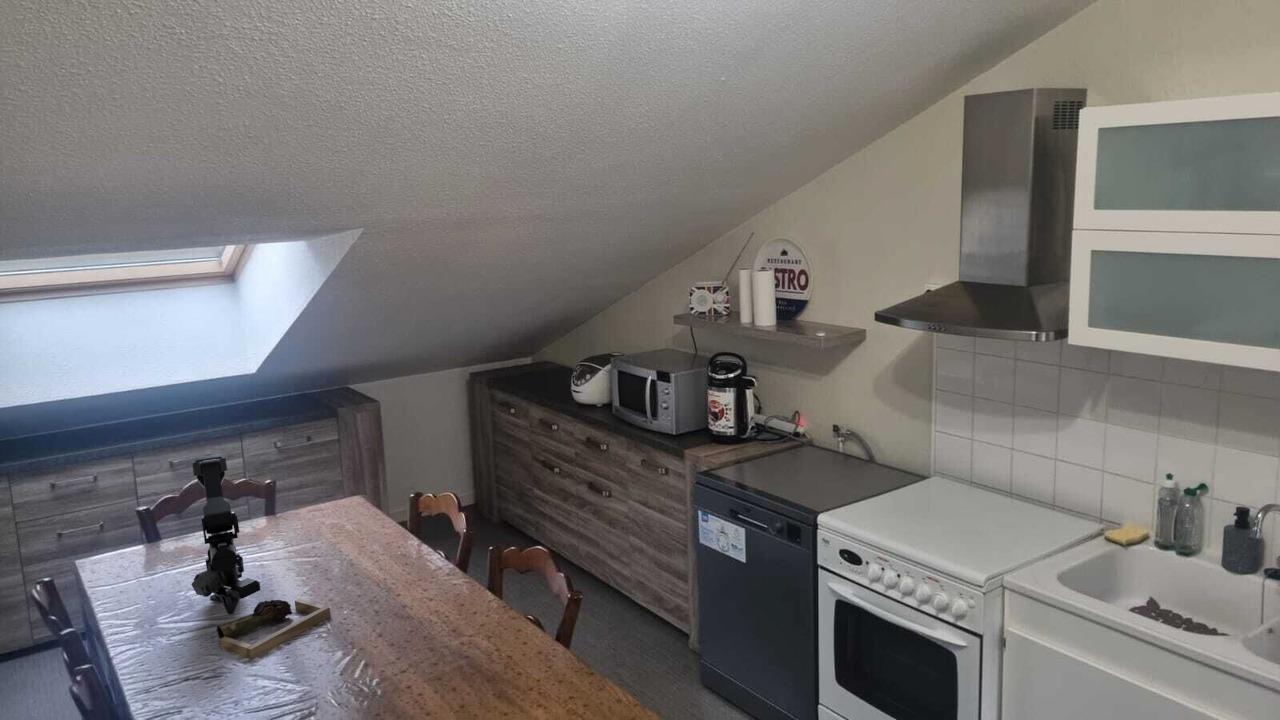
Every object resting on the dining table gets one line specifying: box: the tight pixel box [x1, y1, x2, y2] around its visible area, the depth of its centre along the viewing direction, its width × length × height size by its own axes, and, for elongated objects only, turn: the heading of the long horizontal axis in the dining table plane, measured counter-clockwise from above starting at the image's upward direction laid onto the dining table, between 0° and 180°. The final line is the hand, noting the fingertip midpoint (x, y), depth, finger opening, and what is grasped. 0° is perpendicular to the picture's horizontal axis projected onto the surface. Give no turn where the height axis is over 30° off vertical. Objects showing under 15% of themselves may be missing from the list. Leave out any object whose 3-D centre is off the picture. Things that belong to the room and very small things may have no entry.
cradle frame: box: [219, 598, 332, 660], centre depth 236 cm, size 11×24×2 cm, turn 150°
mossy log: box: [216, 599, 294, 640], centre depth 238 cm, size 18×7×6 cm, turn 135°
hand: (231, 613), depth 245 cm, fingers closed
